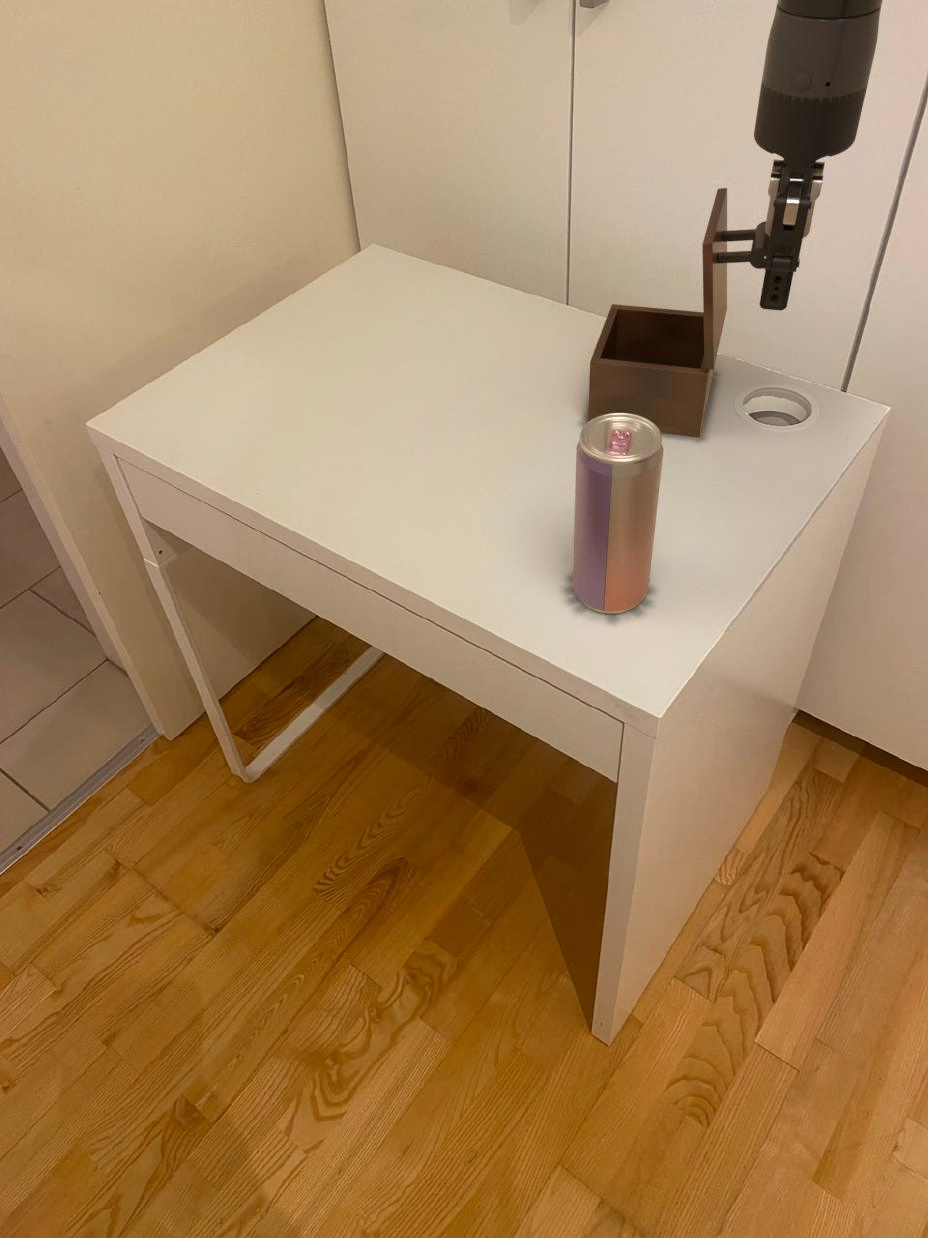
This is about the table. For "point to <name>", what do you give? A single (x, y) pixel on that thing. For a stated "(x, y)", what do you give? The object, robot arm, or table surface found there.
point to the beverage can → (615, 510)
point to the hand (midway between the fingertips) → (776, 286)
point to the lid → (723, 269)
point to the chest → (651, 368)
